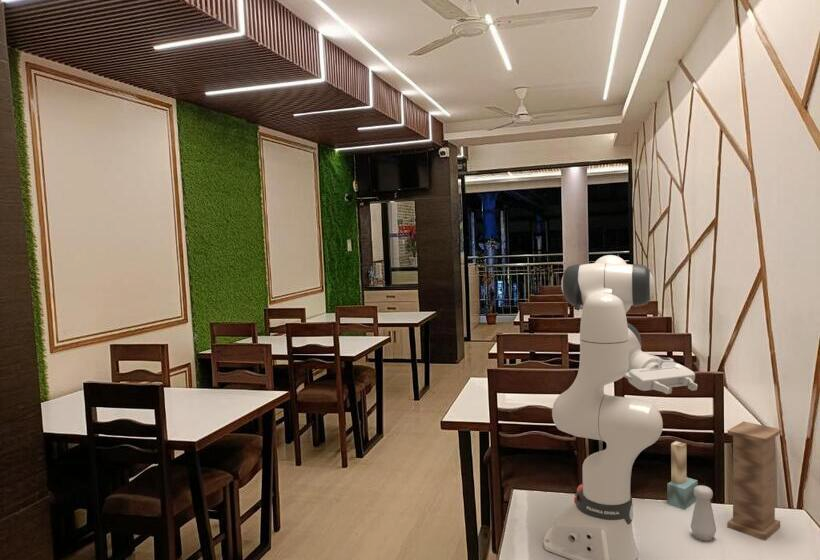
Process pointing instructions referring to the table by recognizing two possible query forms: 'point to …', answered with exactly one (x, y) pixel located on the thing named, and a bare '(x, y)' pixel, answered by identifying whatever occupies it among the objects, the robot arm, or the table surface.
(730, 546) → the table surface
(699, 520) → the salt shaker
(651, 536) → the table surface
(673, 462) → the mallet
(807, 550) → the table surface
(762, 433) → the pedestal
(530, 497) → the table surface
